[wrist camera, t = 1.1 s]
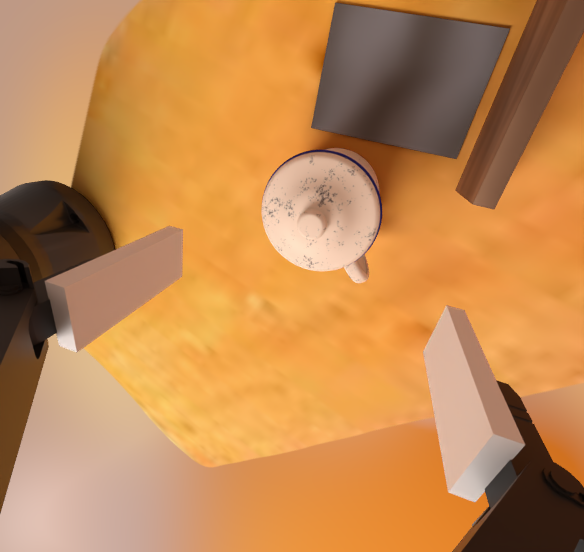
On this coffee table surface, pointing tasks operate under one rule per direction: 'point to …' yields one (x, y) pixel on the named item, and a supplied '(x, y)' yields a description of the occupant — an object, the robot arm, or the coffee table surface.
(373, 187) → the teacup with lid
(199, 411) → the coffee table surface
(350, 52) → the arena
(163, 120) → the coffee table surface
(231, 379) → the coffee table surface
